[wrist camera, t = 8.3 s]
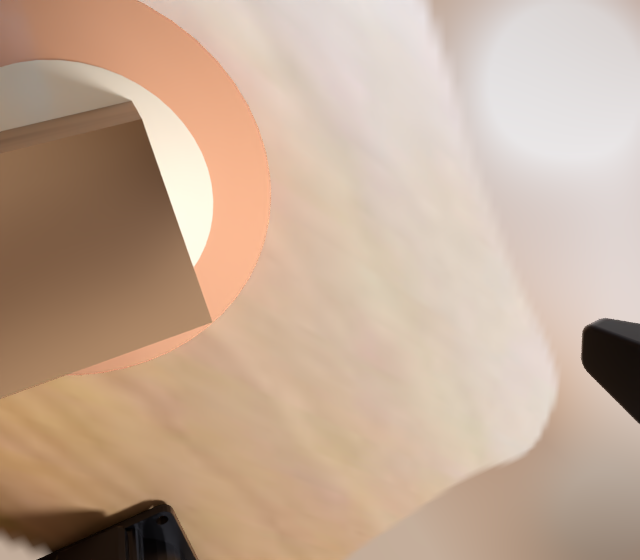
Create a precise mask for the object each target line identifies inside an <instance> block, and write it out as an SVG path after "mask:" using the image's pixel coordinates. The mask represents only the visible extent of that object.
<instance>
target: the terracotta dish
mask: <svg viewBox="0 0 640 560" xmlns="http://www.w3.org/2000/svg"><path fill="white" fill-rule="evenodd" d="M128 101H132V102H133V104H134V106H135V107H136V109H137V111H138V113H139V115H140V116H141V118H142V121H143V123H144V126H145V129H146V132H147V135H148V138H149V141H150V144H151V147H152V149H153V152H154V155H155V158H156V161H157V164H158V167H159V170H160V172H161V175H162V178H163V181H164V184H165V187H166V190H167V193H168V195H169V198H170V201H171V204H172V207H173V210H174V213H175V216H176V219H177V221H178V224H179V227H180V230H181V233H182V236H183V239H184V242H185V244H186V247H187V250H188V253H189V256H190V259H191V262H192V265H193V267H194V270H195V273H196V276H197V279H198V282H199V285H200V288H201V291H202V293H203V296H204V299H205V302H206V305H207V308H208V311H209V314H210V316H211V319H212V323H213V322H214V321H215V320H216V319H217V318H218V317H219V316H220V315H222V314H223V312H224V311H225V310H226V309H227V308H228V307H229V305H230V304H231V303H232V302H233V301H234V300H235V299H236V297H237V296H238V294H239V293H240V291H241V290H242V288H243V287H244V285H245V284H246V282H247V281H248V279H249V277H250V275H251V273H252V271H253V269H254V267H255V265H256V263H257V261H258V258H259V256H260V253H261V250H262V247H263V244H264V241H265V237H266V232H267V228H268V223H269V215H270V203H271V189H270V173H269V167H268V162H267V156H266V151H265V148H264V145H263V141H262V138H261V135H260V132H259V129H258V126H257V124H256V122H255V120H254V117H253V115H252V113H251V111H250V109H249V106H248V105H247V103H246V101H245V100H244V98H243V96H242V95H241V93H240V91H239V90H238V88H237V86H236V85H235V83H234V82H233V80H232V79H231V78H230V77H229V75H228V74H227V73H226V72H225V70H224V69H223V68H222V66H221V65H220V64H219V63H218V61H217V60H216V59H215V58H214V57H213V56H212V55H211V54H210V53H209V52H208V51H207V50H206V49H205V48H204V47H203V46H202V45H201V44H200V43H199V42H198V41H197V40H196V39H195V38H193V37H192V36H191V35H189V34H188V33H187V32H186V31H184V30H183V29H182V28H181V27H179V26H178V25H177V24H175V23H174V22H173V21H172V20H170V19H168V18H167V17H165V16H163V15H162V14H160V13H158V12H157V11H155V10H154V9H152V8H150V7H149V6H147V5H145V4H143V3H141V2H139V1H137V0H0V131H5V130H9V129H13V128H17V127H22V126H26V125H30V124H34V123H39V122H43V121H47V120H51V119H56V118H60V117H64V116H68V115H73V114H77V113H81V112H85V111H90V110H94V109H98V108H103V107H107V106H111V105H115V104H120V103H124V102H128ZM212 323H209V324H206V325H204V326H201V327H198V328H195V329H193V330H190V331H187V332H184V333H181V334H179V335H176V336H173V337H170V338H168V339H165V340H162V341H159V342H156V343H154V344H151V345H148V346H145V347H143V348H140V349H137V350H134V351H132V352H129V353H126V354H123V355H120V356H118V357H115V358H112V359H109V360H107V361H104V362H101V363H98V364H96V365H93V366H90V367H87V368H84V369H82V370H79V371H76V372H73V373H71V374H68V375H84V374H95V373H104V372H109V371H113V370H118V369H123V368H128V367H131V366H134V365H137V364H140V363H144V362H147V361H150V360H152V359H154V358H157V357H159V356H161V355H164V354H166V353H168V352H170V351H172V350H174V349H176V348H177V347H179V346H181V345H183V344H184V343H186V342H188V341H190V340H191V339H192V338H194V337H195V336H196V335H198V334H199V333H201V332H202V331H203V330H205V329H206V328H207V327H208V326H210V325H211V324H212Z"/></svg>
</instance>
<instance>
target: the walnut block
mask: <svg viewBox="0 0 640 560" xmlns="http://www.w3.org/2000/svg"><path fill="white" fill-rule="evenodd" d="M209 323H212V319H211V316H210V314H209V311H208V308H207V305H206V302H205V299H204V296H203V293H202V291H201V288H200V285H199V282H198V279H197V276H196V273H195V270H194V267H193V265H192V262H191V259H190V256H189V253H188V250H187V247H186V244H185V242H184V239H183V236H182V233H181V230H180V227H179V224H178V221H177V219H176V216H175V213H174V210H173V207H172V204H171V201H170V198H169V195H168V193H167V190H166V187H165V184H164V181H163V178H162V175H161V172H160V170H159V167H158V164H157V161H156V158H155V155H154V152H153V149H152V147H151V144H150V141H149V138H148V135H147V132H146V129H145V126H144V123H143V121H142V118H141V116H140V115H139V113H138V111H137V109H136V107H135V106H134V104H133V102H132V101H128V102H124V103H120V104H115V105H111V106H107V107H103V108H98V109H94V110H90V111H85V112H81V113H77V114H73V115H68V116H64V117H60V118H56V119H51V120H47V121H43V122H39V123H34V124H30V125H26V126H22V127H17V128H13V129H9V130H5V131H0V399H1V398H4V397H7V396H10V395H12V394H15V393H18V392H21V391H23V390H26V389H29V388H32V387H35V386H37V385H40V384H43V383H46V382H48V381H51V380H54V379H57V378H59V377H62V376H65V375H68V374H71V373H73V372H76V371H79V370H82V369H84V368H87V367H90V366H93V365H96V364H98V363H101V362H104V361H107V360H109V359H112V358H115V357H118V356H120V355H123V354H126V353H129V352H132V351H134V350H137V349H140V348H143V347H145V346H148V345H151V344H154V343H156V342H159V341H162V340H165V339H168V338H170V337H173V336H176V335H179V334H181V333H184V332H187V331H190V330H193V329H195V328H198V327H201V326H204V325H206V324H209Z"/></svg>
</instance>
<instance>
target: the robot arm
mask: <svg viewBox="0 0 640 560" xmlns="http://www.w3.org/2000/svg"><path fill="white" fill-rule="evenodd" d="M581 360H582V364H583V366H584V368H585V369H586V371H587V372H588V373H589V374H590V375H591V376H592V377H593V378H594V379H595V380H596V381H597V382H598V383H599V384H600V385H601V386H602V387H603V388H604V389H605V390H606V391H607V392H608V393H609V394H610V395H611V396H612V397H613V398H614V399H615V400H616V401H617V402H618V403H619V404H620V405H621V406H622V407H623V408H624V409H625V410H626V411H627V412H628V413H629V414H630V415H631V416H632V417H633V418H634V419H635V420H636V421H637V422H638V423H639V424H640V324H638V323H631V322H626V321H620V320H614V319H607V318H603V319H599V320H597V321H595V322H593V323H591V324H589V325H587V326H586V327H585V328H584V330H583V333H582V353H581ZM161 516H164V517H161ZM159 517H161V518H159ZM37 560H198V558H197V556H196V554H195V552H194V550H193V548H192V546H191V544H190V542H189V540H188V538H187V536H186V534H185V532H184V530H183V528H182V526H181V524H180V522H179V520H178V518H177V516H176V514H175V512H174V510H173V508H172V507H171V506H169V505H159V506H156V507H154V508H152V509H150V510H147V511H145V512H143V513H141V514H138V515H136V516H134V517H132V518H129V519H127V520H125V521H123V522H120V523H118V524H116V525H114V526H111V527H109V528H107V529H105V530H102V531H100V532H98V533H96V534H93V535H91V536H89V537H87V538H84V539H82V540H80V541H78V542H75V543H73V544H71V545H69V546H67V547H64V548H62V549H60V550H58V551H55V552H53V553H51V554H49V555H46V556H44V557H42V558H40V559H37Z"/></svg>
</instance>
